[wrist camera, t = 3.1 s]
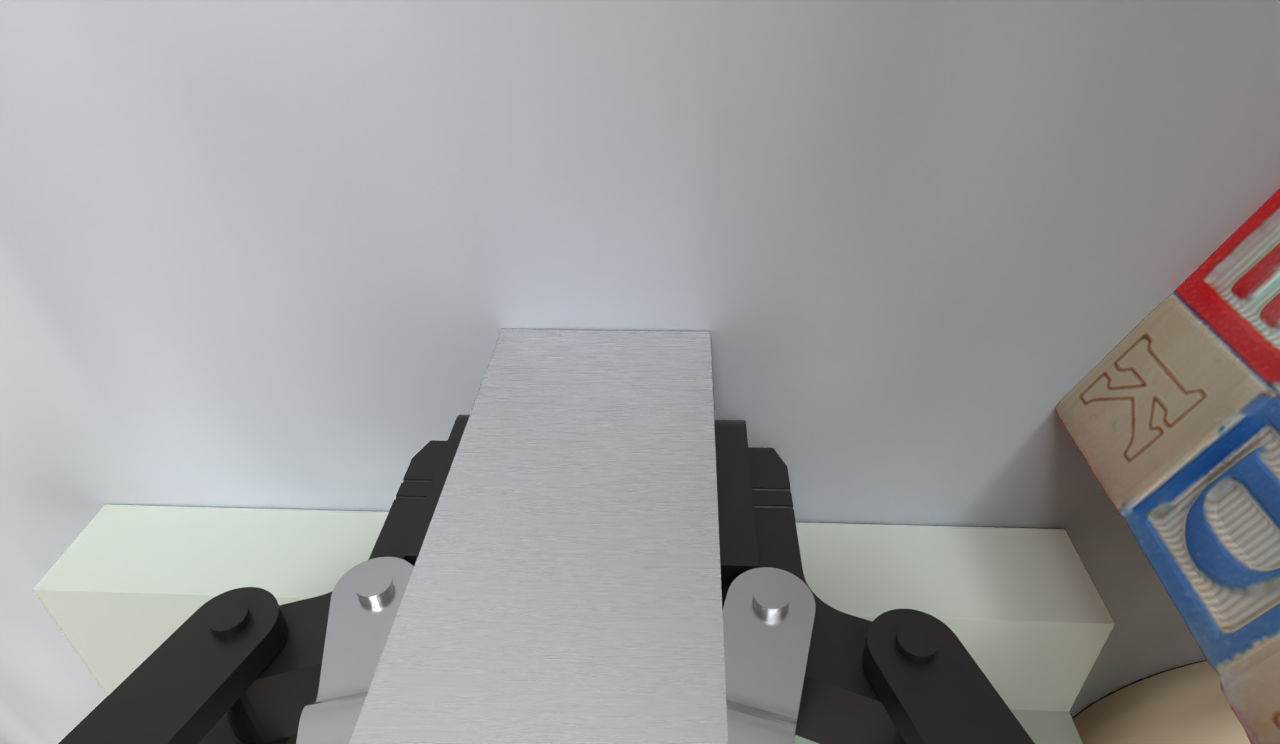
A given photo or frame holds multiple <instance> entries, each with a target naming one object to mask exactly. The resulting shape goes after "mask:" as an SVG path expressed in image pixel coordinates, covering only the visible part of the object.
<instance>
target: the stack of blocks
mask: <svg viewBox="0 0 1280 744" xmlns="http://www.w3.org/2000/svg"><path fill="white" fill-rule="evenodd" d="M1056 410H1057V413H1058V415H1059V417H1060V419H1061V421H1062V422H1063V424H1064V426H1065V427H1066V429H1067V431H1068V432H1069V434H1070V435H1071V437H1072V438H1073V440H1074V442H1075V443H1076V445H1077V446H1078V448H1079V449H1080V451H1081V453H1082V454H1083V456H1084V457H1085V459H1086V461H1087V462H1088V464H1089V466H1090V469H1091V471H1092V472H1093V473H1094V475H1095V476H1096V477H1097V479H1098V481H1099V483H1100V484H1101V486H1102V488H1103V490H1104V491H1105V493H1106V495H1107V496H1108V498H1109V500H1110V501H1111V502H1112V504H1113V505H1114V506H1115V507H1116V509H1117V511H1118V513H1119V514H1120V515H1122V516H1123V517H1125V518H1126V520H1127V523H1128V525H1129V527H1130V529H1131V531H1132V533H1133V535H1134V536H1135V538H1136V540H1137V542H1138V543H1139V545H1140V547H1141V549H1142V550H1143V552H1144V554H1145V556H1146V557H1147V559H1148V560H1149V562H1150V564H1151V565H1152V567H1153V569H1154V570H1155V572H1156V574H1157V575H1158V577H1159V579H1160V580H1161V582H1162V584H1163V585H1164V587H1165V589H1166V590H1167V592H1168V594H1169V595H1170V597H1171V599H1172V601H1173V602H1174V604H1175V606H1176V607H1177V609H1178V611H1179V612H1180V614H1181V616H1182V617H1183V619H1184V621H1185V622H1186V624H1187V626H1188V628H1189V629H1190V631H1191V633H1192V635H1193V636H1194V638H1195V640H1196V642H1197V643H1198V645H1199V647H1200V649H1201V650H1202V652H1203V654H1204V656H1205V657H1206V659H1207V661H1208V663H1209V664H1210V665H1211V667H1212V668H1213V669H1214V670H1215V672H1216V673H1217V674H1218V675H1219V679H1220V686H1221V691H1222V693H1223V694H1224V696H1225V698H1226V700H1227V702H1228V704H1229V705H1230V707H1231V709H1232V711H1233V712H1234V714H1235V715H1236V717H1237V718H1238V720H1239V722H1240V723H1241V725H1242V726H1243V728H1244V730H1245V732H1246V734H1247V737H1248V739H1249V741H1250V743H1251V744H1280V188H1279V189H1278V190H1277V191H1276V192H1275V193H1274V194H1273V195H1272V196H1271V197H1270V198H1269V199H1268V200H1267V201H1266V202H1265V203H1264V204H1263V205H1262V206H1261V207H1260V208H1259V209H1258V210H1257V211H1256V212H1255V213H1254V214H1253V215H1252V216H1251V217H1250V218H1249V219H1248V220H1247V221H1246V222H1245V223H1244V224H1243V225H1242V226H1241V227H1240V228H1239V229H1238V230H1237V231H1236V232H1235V233H1234V234H1232V235H1231V236H1230V237H1229V238H1228V239H1227V240H1226V241H1225V242H1224V243H1223V244H1222V245H1221V246H1220V247H1219V248H1218V249H1217V250H1216V251H1215V252H1214V253H1213V254H1212V255H1211V256H1210V257H1209V258H1208V259H1207V260H1206V261H1205V262H1204V263H1203V264H1202V265H1201V266H1200V267H1199V268H1198V269H1197V270H1196V271H1195V272H1194V273H1193V274H1192V275H1191V276H1190V277H1189V278H1188V279H1187V280H1185V281H1184V282H1183V283H1182V284H1181V285H1180V286H1179V287H1178V288H1177V289H1176V291H1175V292H1174V293H1173V294H1172V295H1170V296H1169V297H1168V298H1166V299H1165V300H1164V301H1163V302H1161V303H1160V304H1159V305H1158V306H1157V307H1156V308H1155V309H1154V310H1153V311H1152V312H1151V313H1150V314H1149V315H1148V316H1147V317H1146V318H1145V319H1144V320H1143V321H1142V322H1141V323H1140V324H1139V325H1138V326H1137V327H1136V328H1134V329H1133V330H1132V331H1131V332H1130V333H1129V334H1128V335H1127V336H1126V337H1125V338H1124V339H1123V340H1122V341H1121V342H1120V343H1119V344H1118V345H1117V346H1116V347H1115V348H1114V349H1113V350H1112V351H1111V352H1110V353H1109V354H1108V355H1107V356H1106V357H1105V358H1104V359H1103V360H1102V361H1101V362H1100V363H1099V364H1098V365H1097V366H1096V367H1094V368H1093V369H1092V370H1091V371H1090V372H1089V373H1088V374H1087V375H1086V376H1085V377H1084V378H1083V379H1082V380H1081V381H1080V382H1079V383H1078V384H1077V385H1076V386H1075V387H1074V388H1073V389H1072V390H1071V391H1070V392H1069V393H1068V394H1067V395H1066V396H1065V397H1064V398H1063V399H1062V400H1061V401H1060V402H1059V404H1058V405H1057V407H1056Z"/></svg>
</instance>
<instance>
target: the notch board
mask: <svg viewBox="0 0 1280 744" xmlns="http://www.w3.org/2000/svg"><path fill="white" fill-rule="evenodd" d="M388 513H389V512H375V511H336V510H297V509H259V508H220V507H181V506H142V505H104V507H103V508H102V509H101V510H100V511H99V512H98V514H97V515H96V516H95V517H94V518H93V519H92V521H91V522H90V523H89V524H88V525H87V526H86V528H85V529H84V530H83V531H82V532H81V533H80V535H79V536H78V537H77V538H76V539H75V541H74V542H73V543H72V544H71V545H70V546H69V548H68V549H67V550H66V551H65V552H64V553H63V555H62V556H61V557H60V558H59V559H58V560H57V562H56V563H55V564H54V565H53V566H52V567H51V569H50V570H49V571H48V572H47V573H46V574H45V576H44V577H43V578H42V579H41V580H40V581H39V583H38V584H37V585H36V586H35V587H34V588H33V591H34V593H35V594H36V596H37V597H38V599H39V600H40V601H41V603H42V604H43V606H44V607H45V608H46V610H47V611H48V613H49V614H50V616H51V617H52V618H53V620H54V621H55V623H56V624H57V626H58V627H59V628H60V630H61V631H62V633H63V634H64V636H65V637H66V638H67V640H68V641H69V643H70V644H71V645H72V647H73V648H74V650H75V651H76V653H77V654H78V655H79V657H80V658H81V660H82V661H83V663H84V664H85V665H86V667H87V668H88V670H89V671H90V673H91V674H92V675H93V677H94V678H95V680H96V681H97V682H98V684H99V685H100V687H101V688H102V690H103V691H104V692H105V694H106V695H107V696H108V695H109V694H111V693H112V692H113V691H114V690H115V689H116V688H117V687H118V686H119V685H120V684H121V683H122V682H123V681H124V680H125V679H126V678H127V677H128V676H129V675H130V674H131V673H132V672H133V671H134V670H135V669H136V668H137V667H139V666H140V665H141V664H142V663H143V662H144V661H145V660H146V659H147V658H148V657H149V656H150V655H151V654H152V653H153V652H154V651H155V650H156V649H157V648H158V647H159V646H160V645H161V644H162V643H163V642H164V641H166V640H167V639H168V638H169V637H170V636H171V635H172V634H173V633H174V632H175V631H176V630H177V629H178V628H179V627H180V626H181V625H182V624H183V623H184V622H185V621H186V620H187V619H188V618H189V617H190V616H191V615H192V614H194V613H195V612H196V611H197V610H198V609H199V608H200V607H201V606H202V605H203V604H205V603H206V602H208V601H209V600H211V599H212V598H214V597H216V596H218V595H219V594H222V593H224V592H227V591H230V590H233V589H237V588H242V587H258V588H262V589H265V590H267V591H269V592H270V593H271V594H273V595H274V597H275V598H276V600H277V602H278V604H279V605H283V604H287V603H292V602H296V601H300V600H304V599H309V598H313V597H317V596H320V595H324V594H327V593H329V592H332V591H333V589H334V587H335V585H336V584H337V582H338V581H339V579H340V578H341V577H342V576H343V575H344V574H345V573H346V572H347V571H349V570H350V569H351V568H353V567H354V566H356V565H358V564H360V563H362V562H364V561H367V560H368V559H369V557H370V555H371V553H372V550H373V548H374V546H375V543H376V541H377V539H378V536H379V534H380V532H381V530H382V527H383V525H384V523H385V520H386V518H387V516H388ZM796 529H797V535H798V542H799V549H800V555H801V562H802V568H803V573H804V577H805V580H806V582H807V584H808V586H809V587H810V589H811V590H812V591H813V592H814V594H815V595H816V596H817V597H818V598H820V599H821V600H822V601H823V602H824V603H826V604H827V605H829V606H830V607H832V608H834V609H836V610H838V611H841V612H844V613H846V614H849V615H853V616H856V617H859V618H862V619H866V620H869V621H872V622H873V621H874V619H876V618H877V617H878V616H879V615H881V614H882V613H884V612H887V611H889V610H894V609H914V610H918V611H922V612H925V613H927V614H930V615H932V616H934V617H935V618H937V619H939V620H940V621H942V622H943V623H945V624H946V625H947V626H948V627H949V628H950V629H951V630H952V631H953V632H954V634H955V635H956V636H957V637H958V639H959V640H960V641H961V643H962V644H963V646H964V647H965V648H966V650H967V651H968V652H969V654H970V655H971V657H972V658H973V659H974V661H975V662H976V663H977V665H978V666H979V668H980V669H981V670H982V672H983V673H984V674H985V676H986V677H987V679H988V680H989V681H990V683H991V684H992V685H993V687H994V688H995V690H996V691H997V692H998V694H999V695H1000V696H1001V698H1002V699H1003V701H1004V702H1005V703H1006V705H1007V706H1008V707H1009V709H1010V710H1011V712H1012V713H1013V714H1014V716H1015V717H1016V718H1017V720H1018V721H1019V723H1020V724H1021V725H1022V727H1023V728H1024V729H1025V731H1026V732H1027V734H1028V735H1029V736H1030V738H1031V739H1032V740H1033V742H1034V743H1035V744H1083V743H1082V741H1081V738H1080V736H1079V734H1078V731H1077V729H1076V727H1075V724H1074V722H1073V720H1072V717H1071V715H1070V713H1069V711H1070V709H1071V707H1072V705H1073V703H1074V701H1075V699H1076V697H1077V696H1078V694H1079V692H1080V690H1081V688H1082V686H1083V684H1084V682H1085V680H1086V678H1087V677H1088V675H1089V673H1090V671H1091V669H1092V667H1093V665H1094V663H1095V661H1096V659H1097V658H1098V656H1099V654H1100V652H1101V650H1102V648H1103V646H1104V644H1105V642H1106V641H1107V639H1108V637H1109V635H1110V633H1111V631H1112V629H1113V627H1114V625H1115V623H1114V621H1113V619H1112V617H1111V615H1110V613H1109V612H1108V610H1107V608H1106V606H1105V604H1104V602H1103V600H1102V598H1101V597H1100V595H1099V593H1098V591H1097V589H1096V587H1095V585H1094V583H1093V582H1092V580H1091V578H1090V576H1089V574H1088V572H1087V570H1086V568H1085V567H1084V565H1083V563H1082V561H1081V559H1080V557H1079V555H1078V553H1077V551H1076V550H1075V548H1074V546H1073V544H1072V542H1071V540H1070V538H1069V536H1068V535H1067V533H1066V531H1065V529H1033V528H995V527H956V526H917V525H878V524H840V523H801V522H796ZM793 744H819V743H816V742H813V741H811V740H808V739H805V738H802V737H800V736H797V735H795V736H794V742H793Z"/></svg>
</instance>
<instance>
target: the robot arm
mask: <svg viewBox="0 0 1280 744" xmlns="http://www.w3.org/2000/svg"><path fill="white" fill-rule="evenodd" d="M469 416H470V415H459V416H458V417H457V419H456V421H455V424H454V426H453V429H452V431H451V434H450V437H449V439H448V441H430V442H429V443H428V444H427V445H426V446H425V447H424V448H423V449H422V450H421V451H420V452H419V453H417V454H416V455H415V456H414V457H413V458H412V460H411V463H410V465H409V467H408V470H407V472H406V474H405V476H404V482H403V483H401V486H400V488H399V490H398V493H397V495H396V500H394V502H393V504H392V506H391V509H390V511H389V513H388V516H387V518H386V520H385V523H384V525H383V527H382V530H381V532H380V534H379V536H378V539H377V541H376V543H375V546H374V548H373V550H372V553H371V555H370V557H369V559H368V560H367V561H364V562H362V563H360V564H358V565H356V566H354V567H353V568H351V569H350V570H349V571H347V572H346V573H345V574H344V575H343V576H342V577H341V578H340V579H339V581H338V582H337V584H336V585H335V587H334V589H333V591H332V592H329V593H327V594H324V595H320V596H317V597H313V598H309V599H304V600H300V601H296V602H292V603H287V604H283V605H279V604H278V602H277V600H276V598H275V597H274V595H273V594H271V593H270V592H269V591H267V590H265V589H262V588H258V587H242V588H237V589H233V590H230V591H227V592H224V593H222V594H219V595H218V596H216V597H214V598H212V599H211V600H209V601H208V602H206V603H205V604H203V605H202V606H201V607H200V608H199V609H198V610H197V611H196V612H195V613H194V614H192V615H191V616H190V617H189V618H188V619H187V620H186V621H185V622H184V623H183V624H182V625H181V626H180V627H179V628H178V629H177V630H176V631H175V632H174V633H173V634H172V635H171V636H170V637H169V638H168V639H167V640H166V641H164V642H163V643H162V644H161V645H160V646H159V647H158V648H157V649H156V650H155V651H154V652H153V653H152V654H151V655H150V656H149V657H148V658H147V659H146V660H145V661H144V662H143V663H142V664H141V665H140V666H139V667H137V668H136V669H135V670H134V671H133V672H132V673H131V674H130V675H129V676H128V677H127V678H126V679H125V680H124V681H123V682H122V683H121V684H120V685H119V686H118V687H117V688H116V689H115V690H114V691H113V692H112V693H111V694H109V695H108V696H107V697H106V698H105V699H104V700H103V701H102V702H101V703H100V704H99V705H98V706H97V707H96V708H95V709H94V710H93V711H92V712H91V713H90V714H89V715H88V716H87V717H86V718H85V719H84V720H83V721H81V722H80V723H79V724H78V725H77V726H76V727H75V728H74V729H73V730H72V731H71V732H70V733H69V734H68V735H67V736H66V737H65V738H64V739H63V740H62V741H61V742H60V743H59V744H349V743H350V740H351V737H352V734H353V732H354V729H355V726H356V724H357V721H358V718H359V715H360V713H361V710H362V707H363V705H364V702H365V699H366V696H367V694H368V691H369V688H370V686H371V683H372V680H373V677H374V675H375V672H376V669H377V666H378V664H379V661H380V658H381V656H382V653H383V650H384V647H385V645H386V642H387V639H388V637H389V634H390V631H391V628H392V626H393V623H394V620H395V618H396V615H397V612H398V609H399V607H400V604H401V601H402V599H403V596H404V593H405V590H406V588H407V585H408V582H409V579H410V577H411V574H412V571H413V569H414V566H415V563H416V560H417V558H418V555H419V552H420V550H421V547H422V544H423V541H424V539H425V536H426V533H427V531H428V528H429V525H430V522H431V520H432V517H433V514H434V511H435V509H436V506H437V503H438V501H439V498H440V495H441V492H442V490H443V487H444V484H445V482H446V479H447V476H448V473H449V471H450V468H451V465H452V463H453V460H454V457H455V454H456V452H457V449H458V446H459V444H460V441H461V438H462V435H463V433H464V430H465V427H466V424H467V422H468V419H469ZM714 428H715V451H716V474H717V497H718V521H719V544H720V567H721V590H722V614H723V637H724V660H725V683H726V707H727V730H728V744H793V742H794V736H795V735H797V736H800V737H802V738H805V739H808V740H811V741H813V742H816V743H819V744H1035V743H1034V742H1033V740H1032V739H1031V738H1030V736H1029V735H1028V734H1027V732H1026V731H1025V729H1024V728H1023V727H1022V725H1021V724H1020V723H1019V721H1018V720H1017V718H1016V717H1015V716H1014V714H1013V713H1012V712H1011V710H1010V709H1009V707H1008V706H1007V705H1006V703H1005V702H1004V701H1003V699H1002V698H1001V696H1000V695H999V694H998V692H997V691H996V690H995V688H994V687H993V685H992V684H991V683H990V681H989V680H988V679H987V677H986V676H985V674H984V673H983V672H982V670H981V669H980V668H979V666H978V665H977V663H976V662H975V661H974V659H973V658H972V657H971V655H970V654H969V652H968V651H967V650H966V648H965V647H964V646H963V644H962V643H961V641H960V640H959V639H958V637H957V636H956V635H955V634H954V632H953V631H952V630H951V629H950V628H949V627H948V626H947V625H946V624H945V623H943V622H942V621H940V620H939V619H937V618H935V617H934V616H932V615H930V614H927V613H925V612H922V611H918V610H914V609H894V610H889V611H887V612H884V613H882V614H881V615H879V616H878V617H877V618H876V619H874V621H873V622H872V621H869V620H866V619H862V618H859V617H856V616H853V615H849V614H846V613H844V612H841V611H838V610H836V609H834V608H832V607H830V606H829V605H827V604H826V603H824V602H823V601H822V600H821V599H820V598H818V597H817V596H816V595H815V594H814V592H813V591H812V590H811V589H810V587H809V586H808V584H807V582H806V580H805V577H804V573H803V568H802V562H801V555H800V549H799V542H798V535H797V529H796V522H795V516H794V510H793V503H792V496H791V492H790V483H789V476H788V470H787V466H786V465H785V464H784V462H783V461H782V460H781V458H780V457H779V455H778V454H777V453H776V451H775V450H774V449H773V448H748V442H747V432H746V423H745V421H742V420H714Z"/></svg>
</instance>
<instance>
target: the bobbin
mask: <svg viewBox="0 0 1280 744" xmlns="http://www.w3.org/2000/svg"><path fill="white" fill-rule="evenodd" d="M1072 720H1073V722H1074V724H1075V727H1076V729H1077V731H1078V734H1079V736H1080V738H1081V741H1082V743H1083V744H1251V743H1250V741H1249V739H1248V737H1247V734H1246V732H1245V730H1244V728H1243V726H1242V725H1241V723H1240V722H1239V720H1238V718H1237V717H1236V715H1235V714H1234V712H1233V711H1232V709H1231V707H1230V705H1229V704H1228V702H1227V700H1226V698H1225V696H1224V694H1223V693H1222V691H1221V686H1220V679H1219V675H1218V674H1217V673H1216V672H1215V670H1214V669H1213V668H1212V667H1211V665H1210V664H1209V663H1208V661H1205V662H1200V663H1195V664H1191V665H1188V666H1184V667H1181V668H1177V669H1173V670H1170V671H1166V672H1163V673H1161V674H1158V675H1155V676H1152V677H1150V678H1147V679H1144V680H1141V681H1139V682H1136V683H1134V684H1132V685H1130V686H1127V687H1125V688H1123V689H1121V690H1118V691H1116V692H1114V693H1112V694H1111V695H1109V696H1107V697H1105V698H1103V699H1101V700H1100V701H1098V702H1096V703H1094V704H1093V705H1091V706H1090V707H1088V708H1087V709H1085V710H1084V711H1082V712H1081V713H1079V714H1078V715H1077V716H1075V717H1074V718H1073V719H1072Z"/></svg>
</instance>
